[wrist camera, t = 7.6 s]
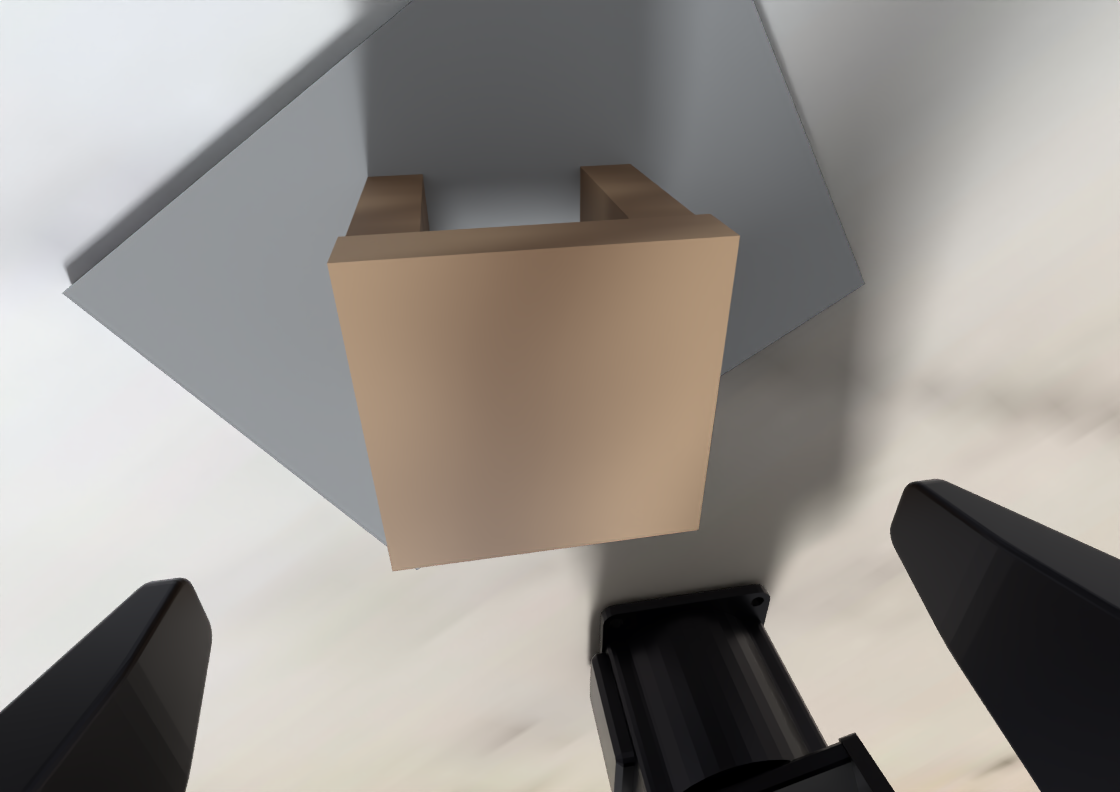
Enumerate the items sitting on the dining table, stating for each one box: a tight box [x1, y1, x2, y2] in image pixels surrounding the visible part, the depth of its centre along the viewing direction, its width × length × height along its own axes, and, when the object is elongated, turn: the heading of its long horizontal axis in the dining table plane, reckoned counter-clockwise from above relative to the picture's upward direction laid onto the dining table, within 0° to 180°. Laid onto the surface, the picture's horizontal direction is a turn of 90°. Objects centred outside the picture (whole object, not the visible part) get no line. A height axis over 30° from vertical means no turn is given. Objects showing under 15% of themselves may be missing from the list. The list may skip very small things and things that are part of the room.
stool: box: [327, 164, 740, 571], centre depth 13 cm, size 6×6×6 cm
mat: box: [63, 0, 865, 570], centre depth 16 cm, size 16×12×1 cm
